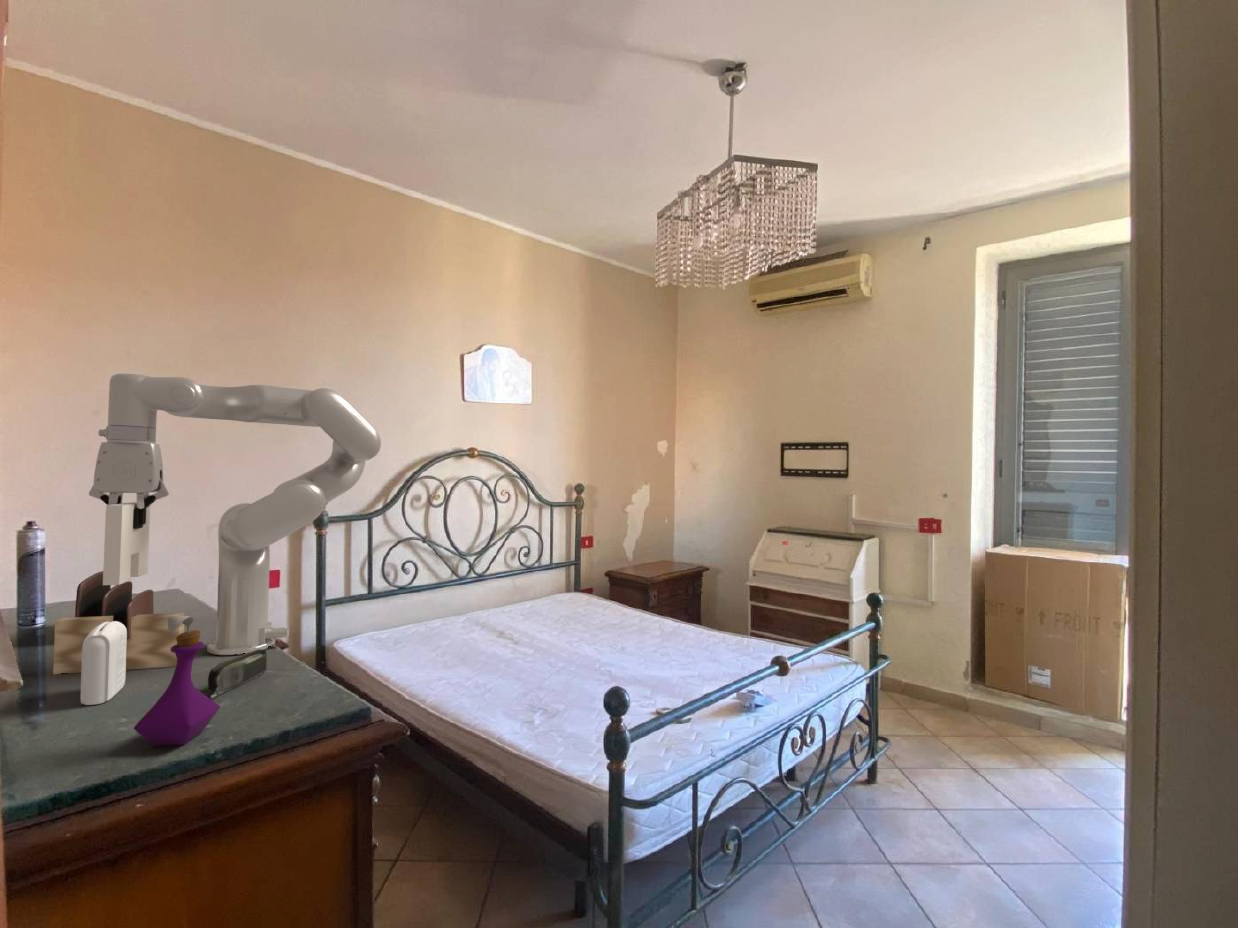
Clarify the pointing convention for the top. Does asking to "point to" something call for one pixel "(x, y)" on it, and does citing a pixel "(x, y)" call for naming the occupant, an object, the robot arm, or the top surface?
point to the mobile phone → (236, 672)
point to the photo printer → (103, 663)
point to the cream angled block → (124, 544)
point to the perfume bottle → (179, 697)
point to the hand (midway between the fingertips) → (128, 527)
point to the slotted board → (141, 650)
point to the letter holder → (111, 601)
